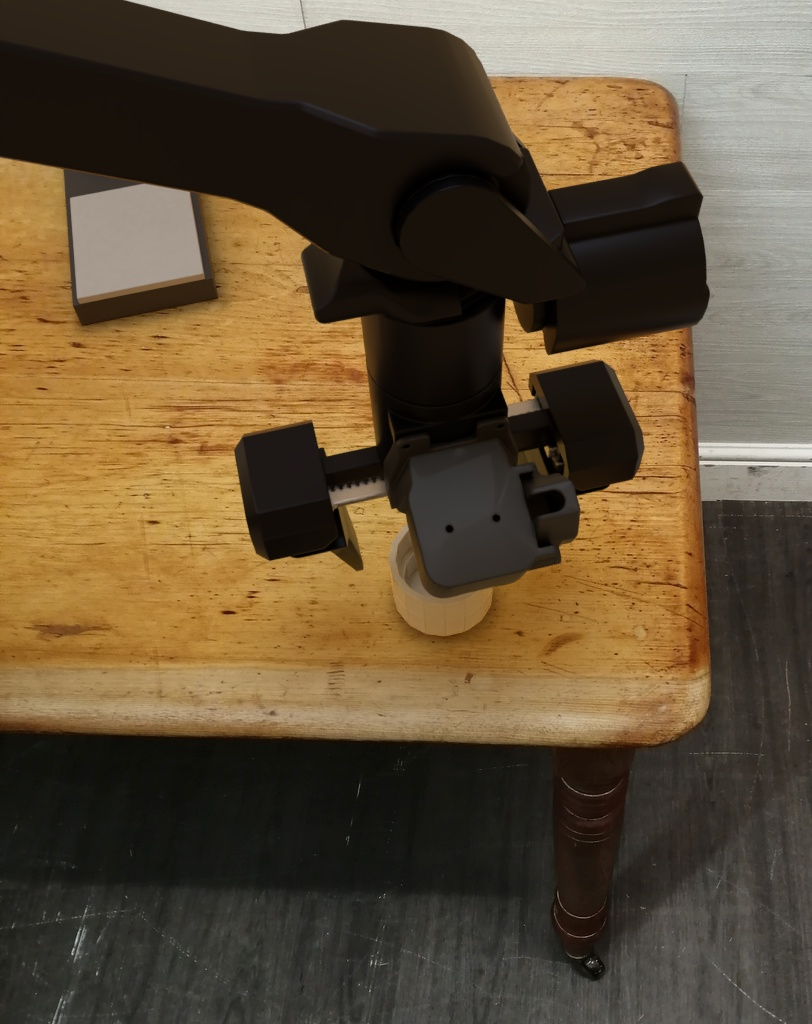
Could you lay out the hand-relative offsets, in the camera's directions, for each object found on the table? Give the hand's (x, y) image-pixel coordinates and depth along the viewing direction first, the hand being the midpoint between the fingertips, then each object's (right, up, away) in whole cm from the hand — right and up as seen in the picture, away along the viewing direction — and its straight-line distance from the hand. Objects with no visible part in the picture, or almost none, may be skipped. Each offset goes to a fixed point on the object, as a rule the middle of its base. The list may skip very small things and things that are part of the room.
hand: (440, 544), depth 54 cm
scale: (-23, +27, +25) cm, 43 cm away
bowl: (0, -3, +4) cm, 5 cm away
